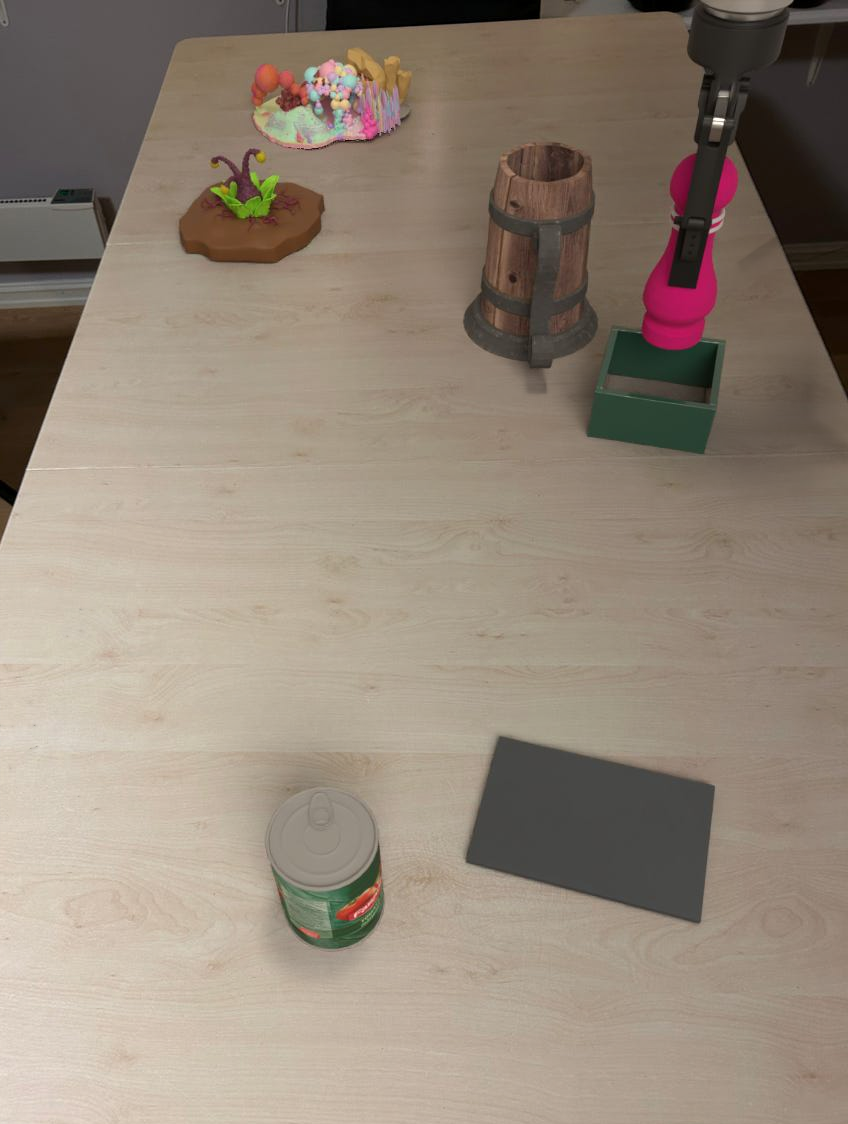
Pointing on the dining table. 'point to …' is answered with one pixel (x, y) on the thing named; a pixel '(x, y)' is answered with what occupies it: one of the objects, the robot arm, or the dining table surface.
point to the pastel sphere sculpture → (331, 101)
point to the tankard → (537, 257)
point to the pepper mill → (671, 309)
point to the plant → (251, 216)
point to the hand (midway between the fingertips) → (685, 269)
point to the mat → (595, 828)
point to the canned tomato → (327, 867)
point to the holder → (650, 414)
